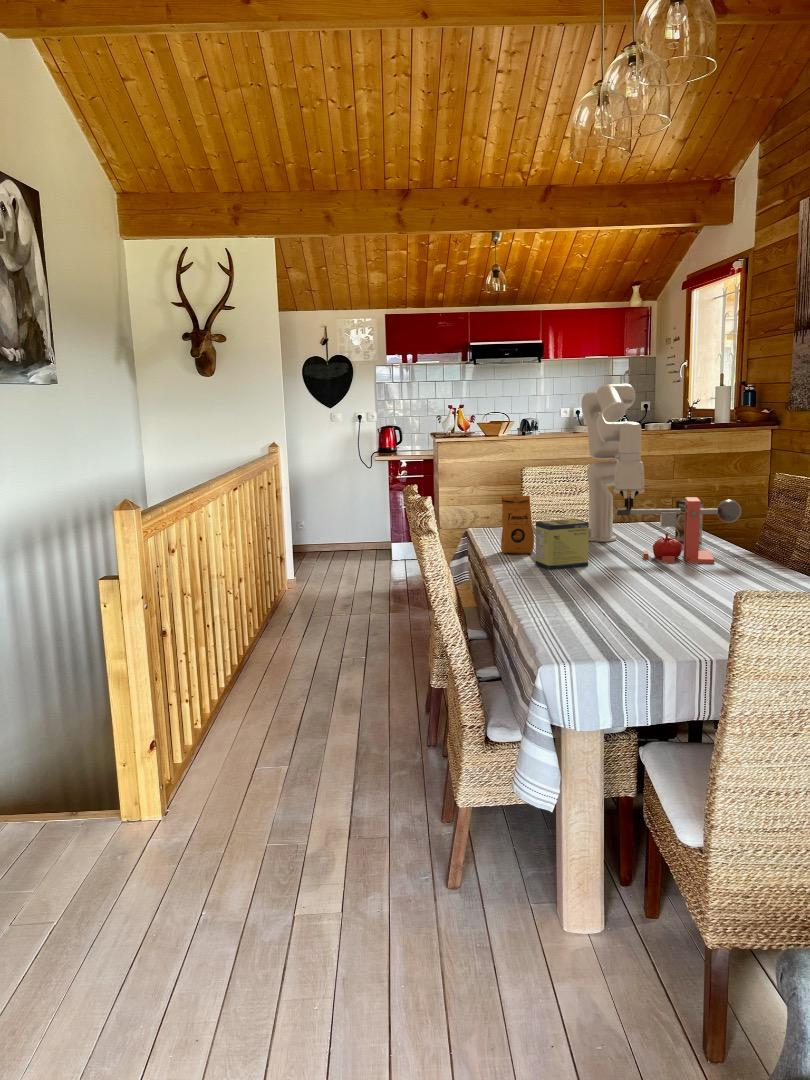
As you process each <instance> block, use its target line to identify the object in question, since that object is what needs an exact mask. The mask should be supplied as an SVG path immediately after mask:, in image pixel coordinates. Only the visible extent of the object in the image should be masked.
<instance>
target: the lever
mask: <svg viewBox="0 0 810 1080" xmlns="http://www.w3.org/2000/svg"><path fill="white" fill-rule="evenodd" d="M616 512H617V513H616V516H631V515H660V523H659V524H660V526H661V528H673V527H676V514H681V509H676V508H631V510H630V509H628V510H627V507H622V508H621V507H620V508H619V507H618V508H617V510H616ZM686 512H687V509H686ZM700 514H703V515H717V518H718V519H719V520H720V521H721V522H724V523H727V524H729V523H734V522H736V521H737V520H738V519H740V517H741V516H742V507H741V505H740V504H739V502H737V501H736V500H734V499H725V500H723V501H721V502H720V503H718V506H716V508H715V507H713V508H710V507H709V508H706V507H705V508H704V507H703V509H700Z"/></svg>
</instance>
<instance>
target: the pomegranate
mask: <svg viewBox="0 0 810 1080" xmlns="http://www.w3.org/2000/svg"><path fill="white" fill-rule="evenodd" d="M664 534H665V537H664V536H658V539H657V540H655V542H654V544H653V545H652V551H653V556H654V557H655V559H659V560H662V556H674V557H675V560H676V559H678V558H679V557H680V556H681V554H682V550H683V545H682V543H681V541H678V539H677V540H675V539H676V538H675V537H673V536H671V537H669V533H668V532H665V533H664Z"/></svg>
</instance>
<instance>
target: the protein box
mask: <svg viewBox="0 0 810 1080" xmlns="http://www.w3.org/2000/svg"><path fill="white" fill-rule="evenodd" d="M588 536H589V521H584V520H581V519H577V518H564V519H563V518H562V519H553V520H550V519H549V520H539V521H535V565H536V566H538V567H541V568H544V569H546V570H548V571H549V570H551V571H552V570H561V569H571V568H583V567H584V568H585V567H588V566H589V541H588Z"/></svg>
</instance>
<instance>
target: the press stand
mask: <svg viewBox="0 0 810 1080" xmlns="http://www.w3.org/2000/svg"><path fill="white" fill-rule="evenodd" d="M684 500H685V526H684V542H683V557H685V562H688V563H689V564H709V565H713V564H715V558H714V556H713V554H712V553H711V551H710V550H700V548H699V547H700V546H699V545H700V542H699V525H700V502H701V500H700V499H699V497H697V496H695V497H694V496H691V497H689V496H687V497H684ZM686 509H687V512H686ZM643 559H644V560H649V551H648V550H643ZM675 560H676V559H675V557H674V556H662V559H661V563H665V564H666V563H668V564H669V563H670V564H673V563H675Z"/></svg>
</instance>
